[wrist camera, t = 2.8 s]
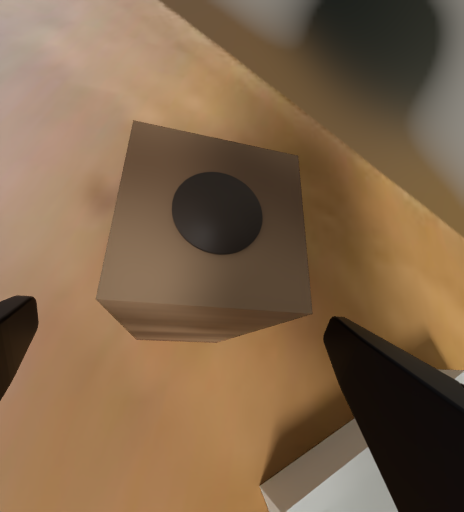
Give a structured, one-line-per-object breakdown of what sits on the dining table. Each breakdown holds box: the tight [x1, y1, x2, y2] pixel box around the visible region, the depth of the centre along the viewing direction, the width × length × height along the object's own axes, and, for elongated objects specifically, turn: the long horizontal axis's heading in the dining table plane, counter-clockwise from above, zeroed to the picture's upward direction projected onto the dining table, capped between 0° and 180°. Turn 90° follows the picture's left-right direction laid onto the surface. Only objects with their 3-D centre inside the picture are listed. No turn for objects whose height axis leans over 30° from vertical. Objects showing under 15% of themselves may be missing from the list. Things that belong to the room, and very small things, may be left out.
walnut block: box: [96, 120, 312, 343], centre depth 12 cm, size 5×5×12 cm
